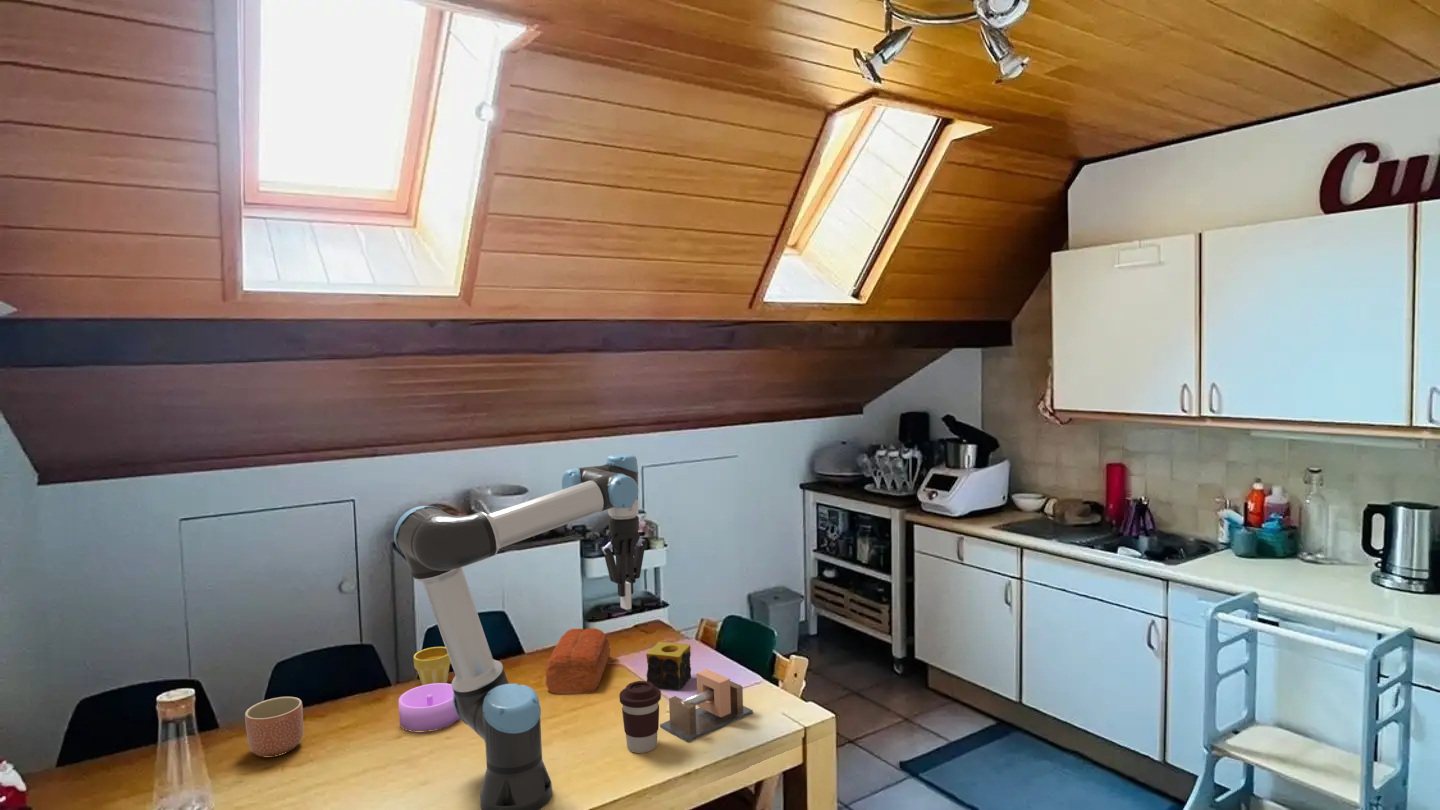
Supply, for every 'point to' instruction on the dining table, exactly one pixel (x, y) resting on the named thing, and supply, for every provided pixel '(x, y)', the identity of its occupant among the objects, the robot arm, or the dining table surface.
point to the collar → (715, 692)
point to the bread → (577, 662)
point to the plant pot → (432, 665)
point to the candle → (669, 665)
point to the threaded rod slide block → (702, 714)
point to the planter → (274, 725)
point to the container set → (427, 707)
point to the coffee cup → (640, 715)
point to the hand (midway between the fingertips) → (625, 607)
